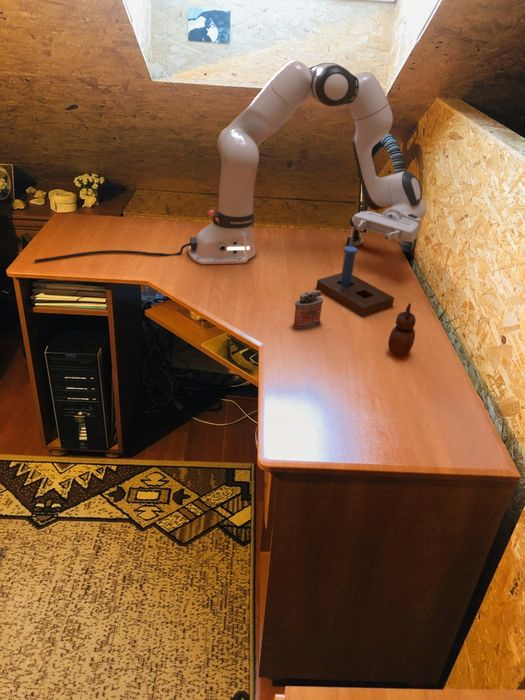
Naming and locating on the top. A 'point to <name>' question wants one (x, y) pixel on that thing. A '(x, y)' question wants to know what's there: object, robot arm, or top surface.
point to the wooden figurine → (402, 334)
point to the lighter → (308, 310)
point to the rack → (355, 295)
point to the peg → (348, 265)
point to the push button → (354, 235)
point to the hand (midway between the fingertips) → (372, 232)
